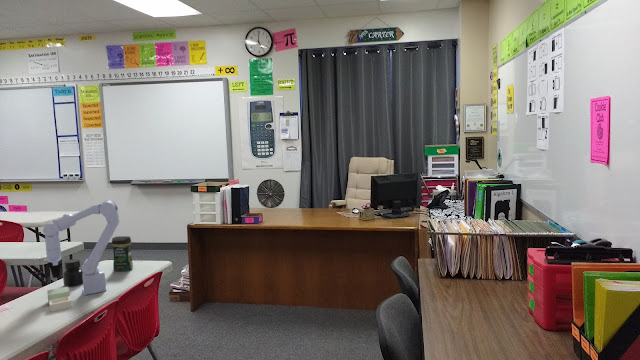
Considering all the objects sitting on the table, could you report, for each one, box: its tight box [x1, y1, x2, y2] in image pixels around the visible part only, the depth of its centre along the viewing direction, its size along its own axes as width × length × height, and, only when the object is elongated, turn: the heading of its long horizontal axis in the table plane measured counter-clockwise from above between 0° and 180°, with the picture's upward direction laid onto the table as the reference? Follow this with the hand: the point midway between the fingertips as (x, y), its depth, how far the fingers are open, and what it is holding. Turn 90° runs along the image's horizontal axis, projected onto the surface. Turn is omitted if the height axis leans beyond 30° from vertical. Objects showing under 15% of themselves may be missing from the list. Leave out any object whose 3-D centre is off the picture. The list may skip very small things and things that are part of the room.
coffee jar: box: [111, 235, 134, 272], centre depth 244 cm, size 10×8×19 cm
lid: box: [46, 286, 71, 300], centre depth 197 cm, size 8×8×2 cm
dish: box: [48, 296, 73, 313], centre depth 191 cm, size 8×8×3 cm
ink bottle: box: [62, 258, 83, 288], centre depth 221 cm, size 10×9×12 cm
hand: (55, 277), depth 204 cm, fingers closed
